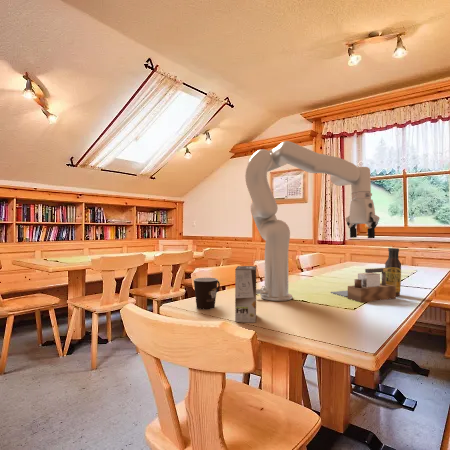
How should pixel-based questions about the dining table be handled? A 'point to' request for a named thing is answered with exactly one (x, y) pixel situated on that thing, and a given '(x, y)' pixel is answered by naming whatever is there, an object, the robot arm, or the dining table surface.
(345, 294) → the felt pad
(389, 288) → the body
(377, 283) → the lever cap
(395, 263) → the sauce bottle
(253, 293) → the coffee box
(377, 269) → the lever
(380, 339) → the dining table surface
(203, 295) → the coffee mug
